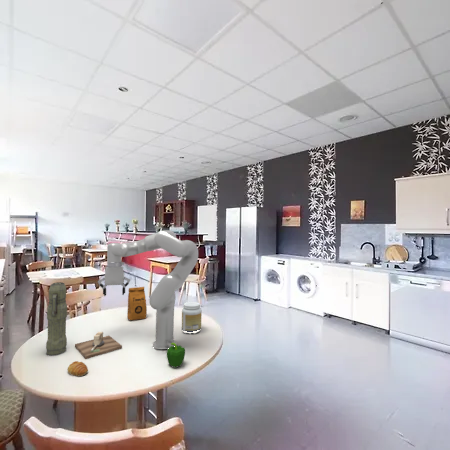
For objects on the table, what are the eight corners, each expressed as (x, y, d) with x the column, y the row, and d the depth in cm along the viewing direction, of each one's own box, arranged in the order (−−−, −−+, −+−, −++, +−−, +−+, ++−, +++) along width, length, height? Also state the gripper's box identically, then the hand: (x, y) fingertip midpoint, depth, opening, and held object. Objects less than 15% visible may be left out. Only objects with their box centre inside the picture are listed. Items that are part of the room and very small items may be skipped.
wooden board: (122, 348, 147) (122, 345, 147) (85, 359, 135) (85, 355, 135) (109, 338, 161) (109, 335, 161) (74, 346, 148) (74, 343, 148)
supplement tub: (205, 331, 174) (205, 304, 174) (190, 336, 165) (190, 308, 165) (192, 326, 182) (193, 300, 182) (177, 331, 173) (178, 303, 173)
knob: (95, 342, 151) (95, 331, 151) (105, 341, 151) (106, 331, 151) (86, 351, 139) (86, 340, 139) (97, 351, 140) (97, 340, 140)
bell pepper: (188, 365, 131) (188, 344, 131) (173, 371, 126) (173, 349, 126) (178, 358, 137) (178, 338, 137) (163, 364, 132) (163, 343, 132)
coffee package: (147, 319, 193) (148, 287, 193) (128, 322, 187) (129, 289, 187) (144, 315, 202) (145, 285, 202) (126, 317, 196) (127, 286, 196)
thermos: (67, 345, 150) (69, 280, 150) (64, 355, 139) (66, 285, 139) (48, 348, 146) (50, 281, 146) (43, 358, 135) (45, 286, 135)
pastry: (92, 372, 124) (92, 364, 124) (77, 379, 118) (77, 370, 118) (79, 366, 129) (80, 358, 129) (65, 373, 123) (65, 364, 123)
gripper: (130, 263, 165) (130, 292, 165) (98, 264, 160) (98, 294, 160) (130, 265, 157) (129, 295, 157) (96, 266, 153) (96, 297, 153)
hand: (114, 294), depth 159 cm, fingers open, 9 cm apart
